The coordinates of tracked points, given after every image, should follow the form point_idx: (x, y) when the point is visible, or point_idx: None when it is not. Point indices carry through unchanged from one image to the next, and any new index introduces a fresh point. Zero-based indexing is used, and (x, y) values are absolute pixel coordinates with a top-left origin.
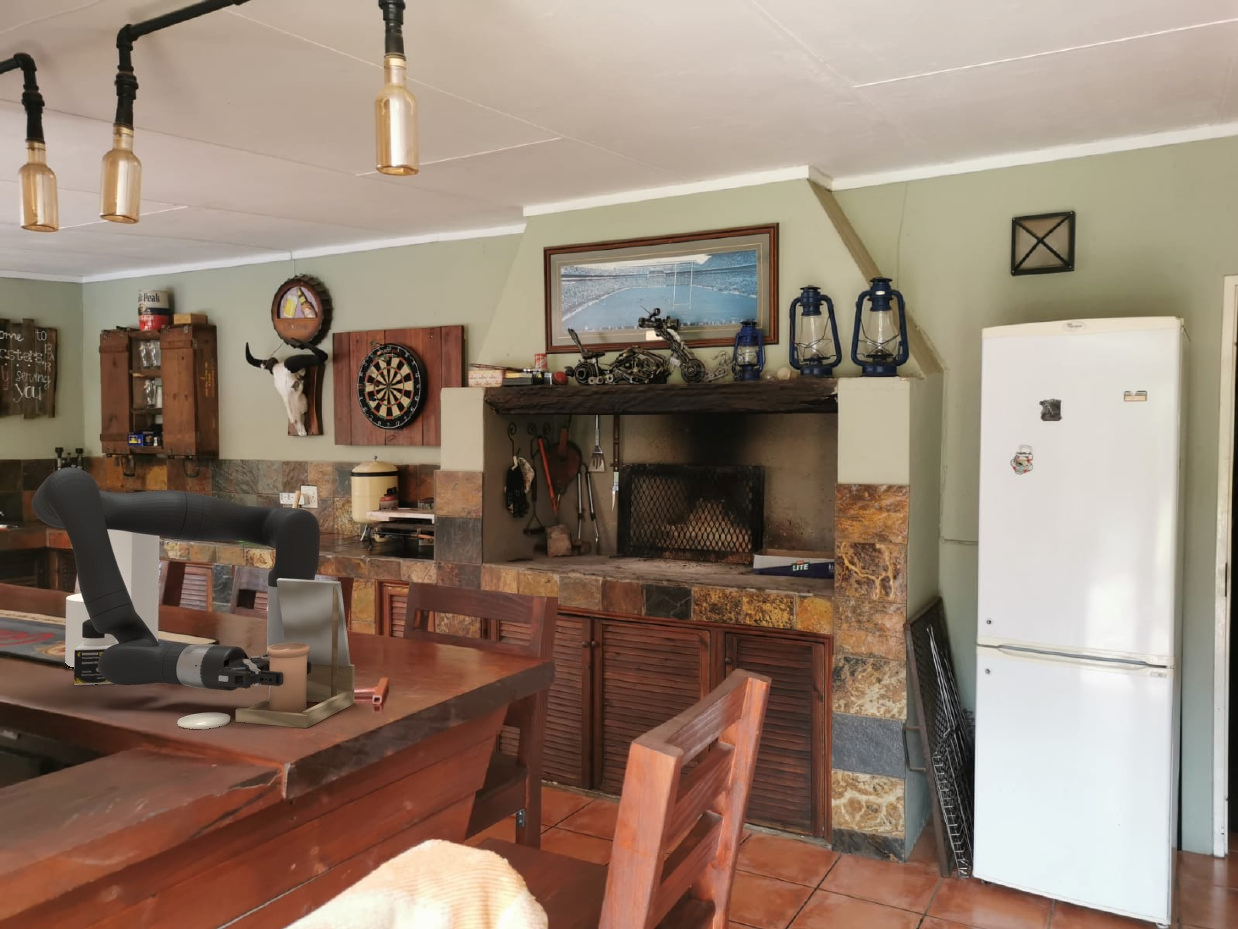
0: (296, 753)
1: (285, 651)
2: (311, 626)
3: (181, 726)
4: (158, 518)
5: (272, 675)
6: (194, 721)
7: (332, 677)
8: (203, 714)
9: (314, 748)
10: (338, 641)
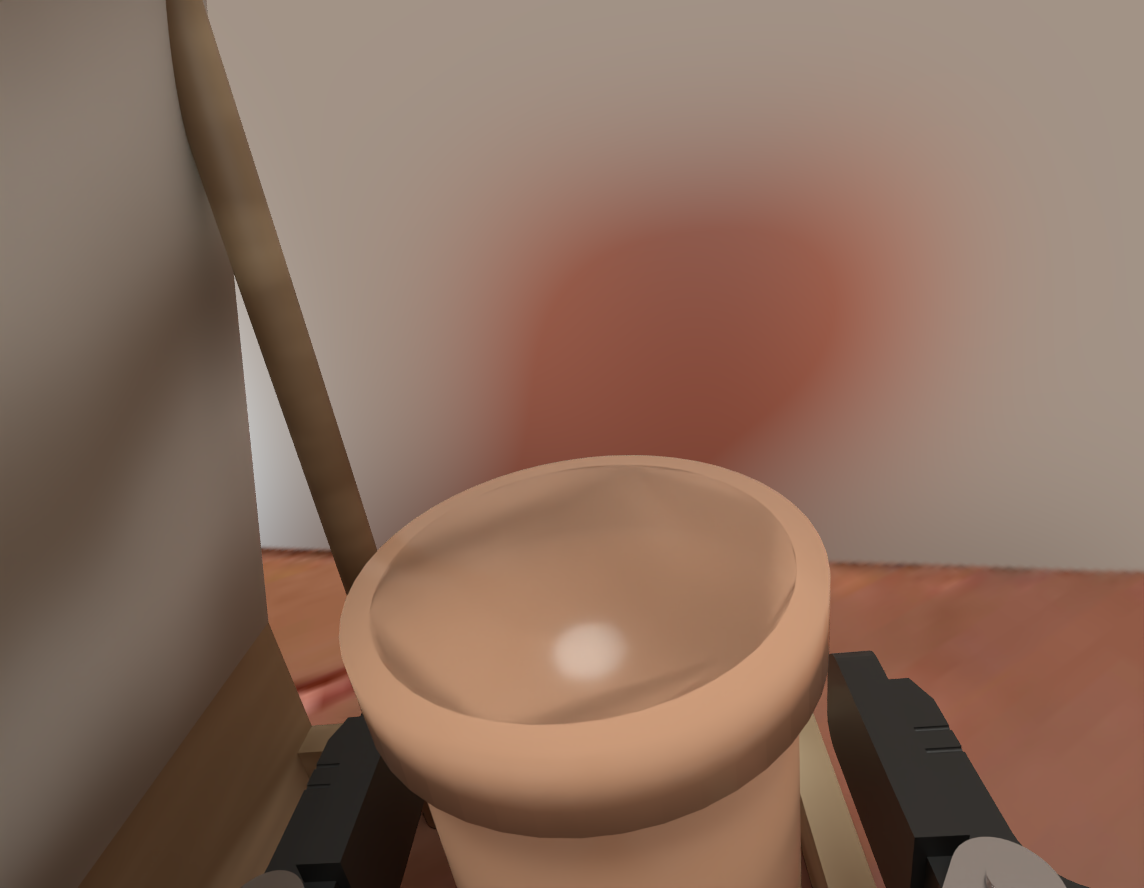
0: (1105, 603)
1: (775, 497)
2: (11, 499)
3: None
4: None
5: (925, 705)
6: None
7: None
8: None
9: (1000, 588)
10: (220, 492)
